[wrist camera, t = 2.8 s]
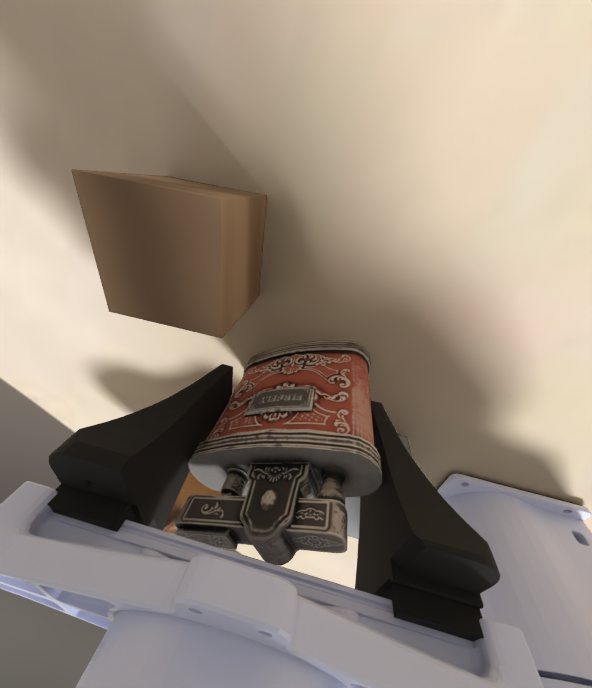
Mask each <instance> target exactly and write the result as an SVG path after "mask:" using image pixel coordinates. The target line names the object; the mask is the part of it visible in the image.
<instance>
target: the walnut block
mask: <svg viewBox="0 0 592 688" xmlns="http://www.w3.org/2000/svg"><path fill="white" fill-rule="evenodd" d="M72 174H73V178H74V181H75V185H76V189H77V193H78V196H79V200H80V204H81V208H82V211H83V215H84V219H85V223H86V226H87V230H88V234H89V238H90V241H91V245H92V249H93V253H94V256H95V260H96V264H97V268H98V271H99V275H100V279H101V283H102V286H103V290H104V294H105V298H106V301H107V305H108V309H109V312H114V313H118V314H122V315H126V316H130V317H135V318H139V319H143V320H147V321H151V322H156V323H160V324H164V325H168V326H172V327H177V328H181V329H185V330H189V331H193V332H198V333H202V334H206V335H210V336H214V337H219V338H222V337H223V336H224V335H225V334H226V333H227V332H228V330H229V329H230V328H231V327H232V326H233V325H234V324H235V323H236V321H237V320H238V319H239V318H240V317H241V316H242V315H243V313H244V312H245V311H246V310H247V309H248V308H249V307H250V305H251V304H252V303H253V302H254V301H255V300H256V299H257V297H258V296H259V288H260V275H261V263H262V250H263V238H264V225H265V213H266V200H267V196H266V195H261V194H256V193H251V192H245V191H240V190H235V189H230V188H224V187H219V186H214V185H209V184H203V183H198V182H193V181H188V180H182V179H177V178H172V177H167V176H153V175H139V174H126V173H112V172H98V171H85V170H72Z"/></svg>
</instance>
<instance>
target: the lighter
mask: <svg viewBox="0 0 592 688" xmlns="http://www.w3.org/2000/svg"><path fill="white" fill-rule="evenodd" d="M370 372H371V365H370V357H369V354H368V351H367V350H366V349H365V348H364V347H363V346H362V345H360V344H358V343H356V342H351V341H319V342H308V343H298V344H293V345H289V346H284V347H280V348H276V349H272V350H270V351H267V352H264V353H261V354H258V355H256V356H254V357H252V358H251V359H250V361H249V362H248V364H247V366H246V367H245V369H244V374H243V376H244V377H243V378H242V380H241V382H240V383H239V385H238V387H237V389H236V390H235V392H234V394H233V395H232V397H231V399H230V401H229V402H228V404H227V406H226V407H225V409H224V411H223V413H222V414H221V416H220V418H219V419H218V421H217V423H216V425H215V426H214V428H213V430H212V431H211V433H210V435H209V436H208V438H207V440H205V441H203V442H201V443H200V444H199V445H198V447H197V449H196V450H195V452H194V453H193V455H192V457H191V459H190V460H189V462H188V465H189V470H190V471H191V473H192V475H193V476H194V477H195V478H196V479H197V480H198V481H199V482H200V483H202V484H203V485H205V486H206V487H208V488H210V489H212V490H215V491H219V492H221V494H222V495H190V496H189V497H188V499H187V501H186V503H185V504H184V506H183V508H182V510H181V512H180V514H179V516H178V518H177V519H176V521H175V523H174V526H175V527H176V529H177V531H176V533H175V535H178V536H182V537H185V538H188V539H192V540H195V541H198V542H202V543H205V544H208V545H211V546H215V547H219V548H228V549H229V548H230V549H236V548H237V545H238V544H247V545H253V546H254V547H255V548H256V550H257V551H258V553H259V554H260V555H261V557H262V558H263V560H265V561H266V562H268V563H271V564H274V565H280V566H281V565H283V564H286V563H288V562H289V561H290V560H291V559H292V558H293V556H294V555H295V553H296V552H297V551H298V550H310V551H320V552H330V553H343V552H345V551H347V523H348V514H347V509H346V507H345V498H347V497H359V496H365V495H369V494H371V493H373V492H375V491H376V490H378V488H379V487H380V485H381V484H382V470H381V460H380V455H379V453H378V451H377V449H376V448H375V447H374V436H373V424H372V413H371V401H370V389H369V378H368V377H369V375H370ZM242 495H244V496H242Z"/></svg>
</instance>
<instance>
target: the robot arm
mask: <svg viewBox="0 0 592 688" xmlns="http://www.w3.org/2000/svg"><path fill="white" fill-rule="evenodd" d="M232 377H233V367H232V366H228V365H224V364H222V365H220V366H219V367H217V368H216V369H214V370H213V371H211V372H210V373H208V374H207V375H205V376H204V377H202V378H201V379H199V380H198V381H196V382H195V383H193V384H192V385H190V386H188V387H187V388H185V389H183V390H181V391H180V392H178V393H176V394H174V395H173V396H171V397H169V398H167V399H165V400H163V401H161V402H159V403H156V404H154V405H152V406H149V407H147V408H145V409H142V410H140V411H137V412H135V413H132V414H129V415H126V416H124V417H120V418H117V419H114V420H111V421H108V422H104V423H101V424H97V425H93V426H90V427H86V428H82V429H79V430H78V431H77V432H75V433H74V434H73V435H72V436H71V437H70V438H69V439H67V440H66V441H65V442H64V443H63V444H62V445H61V446H60V447H58V448H57V449H56V450H55V451H54V452H53V453H52V454H51V455H50V456H49V464H50V466H51V468H52V470H53V471H54V473H55V474H56V476H57V478H58V479H59V481H60V482H61V485H60V486H59V487H58V488H57V489H56V490H55V489H52V488H50V487H47V486H43V485H40V484H37V483H33V482H30V481H28V482H25V483H24V484H23V485H22V486H20V487H19V488H18V489H17V490H16V491H15V492H14V493H13V494H11V495H10V496H9V497H8V498H7V499H6V500H5V501H4V502H3V503H2V504H0V589H3V590H6V591H9V592H12V593H14V594H17V595H20V596H23V597H25V598H28V599H31V600H33V601H36V602H38V603H41V604H44V605H46V606H49V607H51V608H54V609H56V610H59V611H62V612H64V613H67V614H69V615H72V616H74V617H77V618H79V619H82V620H85V621H87V622H89V623H92V624H95V625H97V626H100V627H102V628H105V629H107V632H106V634H105V636H104V637H103V639H102V641H101V643H100V645H99V647H98V648H97V650H96V652H95V654H94V656H93V657H92V659H91V661H90V663H89V664H88V666H87V668H86V670H85V672H84V673H83V675H82V677H81V679H80V681H79V683H78V684H77V686H76V688H592V533H591V532H590V530H589V529H588V527H587V526H586V524H585V523H584V522H583V521H585V520H586V519H588V518H590V517H591V513H590V511H589V510H588V509H587V508H586V507H583V506H580V505H576V504H572V503H568V502H564V501H561V500H557V499H553V498H549V497H545V496H542V495H538V494H534V493H530V492H526V491H522V490H519V489H515V488H511V487H507V486H503V485H500V484H496V483H492V482H488V481H484V480H481V479H477V478H473V477H469V476H465V475H462V474H452V475H450V476H449V477H448V478H447V480H446V481H445V482H444V483H443V484H442V485H441V487H440V488H439V489H438V490H436V489H435V488H434V486H433V485H432V484H431V483H430V482H429V480H428V479H427V478H426V477H425V475H424V474H423V473H422V471H421V470H420V469H419V467H418V466H417V465H416V463H415V462H414V460H413V459H412V457H411V456H410V454H409V453H408V451H407V449H406V448H405V446H404V445H403V443H402V441H401V439H400V438H399V436H398V434H397V432H396V431H395V429H394V427H393V425H392V423H391V421H390V419H389V417H388V415H387V413H386V411H385V409H384V407H383V405H382V404H381V403H378V402H374V401H371V413H372V424H373V436H374V447H375V448H376V449H377V451H378V453H379V455H380V460H381V470H382V484H381V485H380V487H379V488H378V490H376V491H375V492H373V493H371V494H369V495H365V496H360V523H359V543H358V559H357V572H356V584H355V589H353V588H350V587H347V586H343V585H340V584H337V583H334V582H330V581H327V580H324V579H320V578H317V577H314V576H310V575H307V574H304V573H301V572H297V571H294V570H291V569H287V568H284V567H281V566H277V565H274V564H271V563H268V562H264V561H261V560H258V559H254V558H251V557H248V556H244V555H241V554H238V553H234V552H231V551H228V550H225V549H221V548H218V547H215V546H211V545H208V544H205V543H202V542H198V541H195V540H192V539H188V538H185V537H182V536H178V535H175V534H172V533H169V532H165V531H163V530H164V527H165V525H166V523H167V520H168V518H169V515H170V513H171V511H172V508H173V506H174V504H175V502H176V499H177V497H178V495H179V493H180V490H181V488H182V486H183V484H184V482H185V480H186V478H187V475H188V473H189V471H190V470H189V465H188V462H189V460H190V459H191V457H192V455H193V453H194V452H195V450H196V449H197V447H198V445H199V444H200V443H201V442H203V441H205V440H206V439H207V438H208V436H209V434H210V433H211V431H212V430H213V428H214V426H215V425H216V423H217V421H218V419H219V418H220V416H221V414H222V413H223V411H224V409H225V407H226V406H227V404H228V402H229V400H230V397H231V395H232Z"/></svg>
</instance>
